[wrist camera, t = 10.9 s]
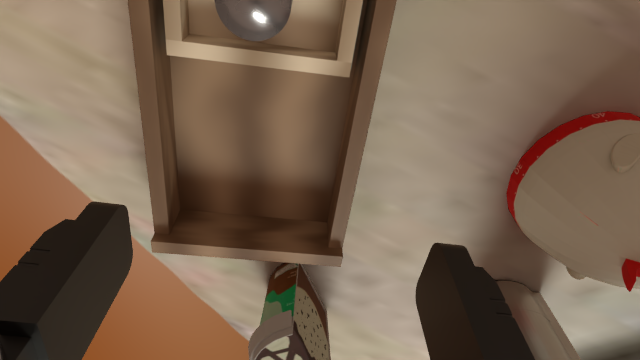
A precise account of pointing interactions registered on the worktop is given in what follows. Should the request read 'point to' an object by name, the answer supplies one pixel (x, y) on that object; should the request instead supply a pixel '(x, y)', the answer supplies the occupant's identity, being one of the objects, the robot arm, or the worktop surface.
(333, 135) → the bay
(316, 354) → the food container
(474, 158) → the worktop surface
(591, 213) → the kitchen timer
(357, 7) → the grey beige boxy piece
